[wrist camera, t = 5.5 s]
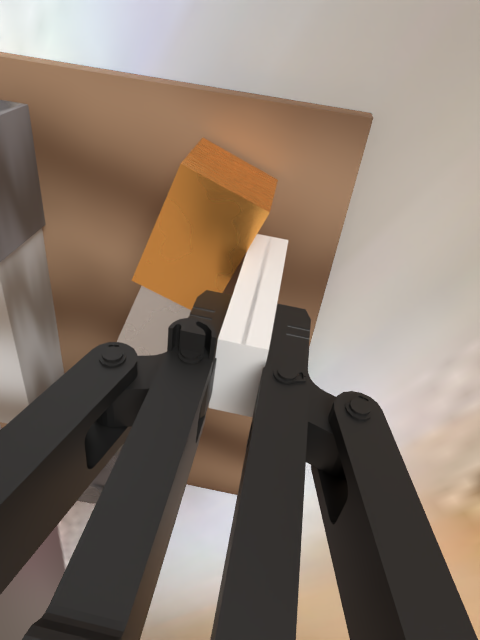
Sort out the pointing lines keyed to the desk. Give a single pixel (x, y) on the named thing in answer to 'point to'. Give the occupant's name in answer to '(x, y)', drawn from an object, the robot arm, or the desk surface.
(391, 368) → the desk surface
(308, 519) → the desk surface
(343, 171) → the board
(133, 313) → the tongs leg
